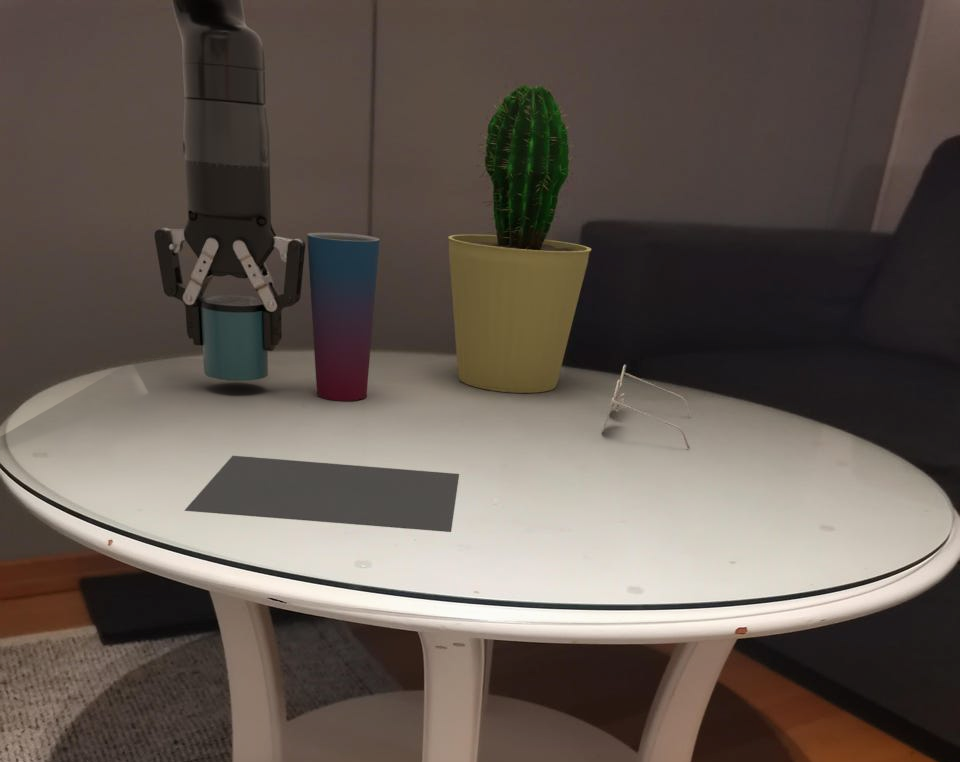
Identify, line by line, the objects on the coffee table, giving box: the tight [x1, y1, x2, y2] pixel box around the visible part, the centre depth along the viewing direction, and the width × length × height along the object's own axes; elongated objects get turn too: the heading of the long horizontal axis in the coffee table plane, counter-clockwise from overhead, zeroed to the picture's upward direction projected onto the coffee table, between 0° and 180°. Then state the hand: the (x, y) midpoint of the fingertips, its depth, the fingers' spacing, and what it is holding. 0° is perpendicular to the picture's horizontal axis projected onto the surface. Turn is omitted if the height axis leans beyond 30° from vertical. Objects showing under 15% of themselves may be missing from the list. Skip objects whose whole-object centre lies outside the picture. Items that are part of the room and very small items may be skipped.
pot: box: [200, 295, 269, 382], centre depth 98 cm, size 6×11×7 cm, turn 179°
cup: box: [306, 232, 380, 402], centre depth 96 cm, size 7×7×15 cm
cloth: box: [184, 455, 460, 533], centre depth 71 cm, size 18×13×1 cm
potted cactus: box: [447, 79, 592, 394], centre depth 104 cm, size 15×15×30 cm
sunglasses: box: [601, 364, 693, 449], centre depth 96 cm, size 14×8×5 cm, turn 168°
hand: (234, 346), depth 96 cm, fingers closed on pot, 6 cm apart
